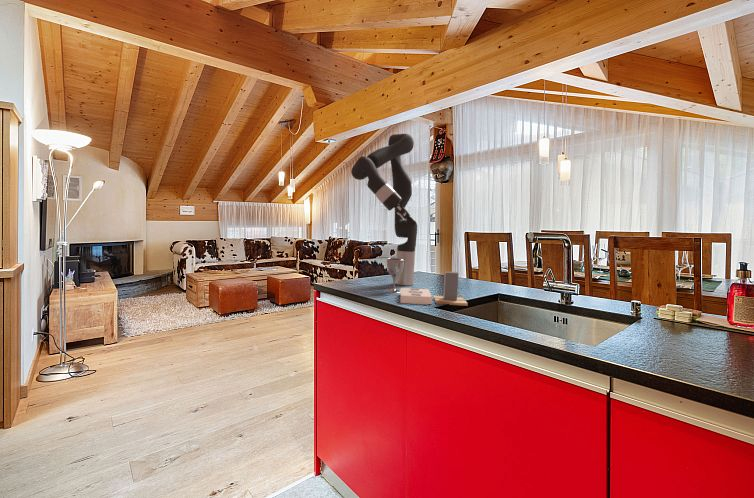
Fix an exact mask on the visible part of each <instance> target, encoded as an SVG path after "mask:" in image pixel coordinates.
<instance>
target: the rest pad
mask: <svg viewBox="0 0 754 498" xmlns="http://www.w3.org/2000/svg"><path fill="white" fill-rule="evenodd" d="M433 300H434V302H435V304H436V305H443V304H449V305H448V306H467V307H468V306H469V305H468V302H467V301H466V299H464V297H463V296H457V301H455V300H444V299H443V295H433Z"/></svg>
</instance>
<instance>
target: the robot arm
mask: <svg viewBox="0 0 754 498" xmlns="http://www.w3.org/2000/svg"><path fill="white" fill-rule="evenodd" d="M387 143H388V145H387V146H384V147H380V148H378V149H376V150H374V151H372V152H370V153H368V155H367V156H365V155H363V156H360V157H358V159H357V160H356V162H355V163H354V164H353V166H352V168H351V170H350V171H351V176H352V177H353V178H354V179H355V180H358V181H359V180H360V181H361V180H364V179H366V178H367V179H368V181H367V185H366V186H367V188H369V190H370V191H371V192H372V193H373V194H374V195H375V197H376V198H377V200H378V201H379V202H380V203H381V204H382V205H383V206H384V207H385V208H386V209H387V210H388V212H389V211H392V210H393V209H394V233H395V236H396V237H397V238H401V239H402V238H403V239H404V238H405V239H407V240H406V241H405V242H404V243H401V244H398V245H397V247H396V258H401V259H404V267H403V270H402V272H401V273H400V274H399V275H398V277H397V278H396V282H395V285H399V286H414V283H415V282H414V279H415V261H416V260H415V259H416V246H417V237H418V236H417V235H418V223H417V221H416V220H414V218H413V217H412V216H411V214H410V213H409V211H408V209H406V207H407V205H408V203H409V201H410V200H411V197H412V193H413V189H412V180H411V177H410V175H409V173H408V172H407V170H406V169H405V167H404V164H403V163H402V157H401V156H402V155H406V154H410V152H412V150H413V148H414V144H415V141H414V138H413V136H412V135H411V134H409V133H396V134H391V135H390V136H389V138H388V141H387ZM389 162H390V165H391V176H392V186H391V185H390V184H388V183H387V181H386V180H385V179H384V178H383V177H382V176H381V174H380V172H379V170H378V169H379V168H380V167H383V166H384V165H385V164H386V163H389Z"/></svg>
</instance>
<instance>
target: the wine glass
mask: <svg viewBox="0 0 754 498" xmlns="http://www.w3.org/2000/svg"><path fill="white" fill-rule="evenodd" d="M403 267H404V259H401V258H397V257H387V258H386V269H387V272H388V273H389V274H390V276H391V277H392V283H393V285H392V286H393V288H392V289H387V290H386V292H387V293H391V294H401V290H398V289H396V278H397V277H398V275H399V274H400V273H401V272H402V270H403Z"/></svg>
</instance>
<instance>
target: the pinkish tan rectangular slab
mask: <svg viewBox="0 0 754 498" xmlns="http://www.w3.org/2000/svg"><path fill="white" fill-rule="evenodd" d="M400 291H401V293H400V304H409V305H410V304H415V305H428V304H431V305H432V303H433V296H432V294H431V291H430V290H429V289H427V288H413V287H412V288H411V287H400ZM431 305H430V306H431Z"/></svg>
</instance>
